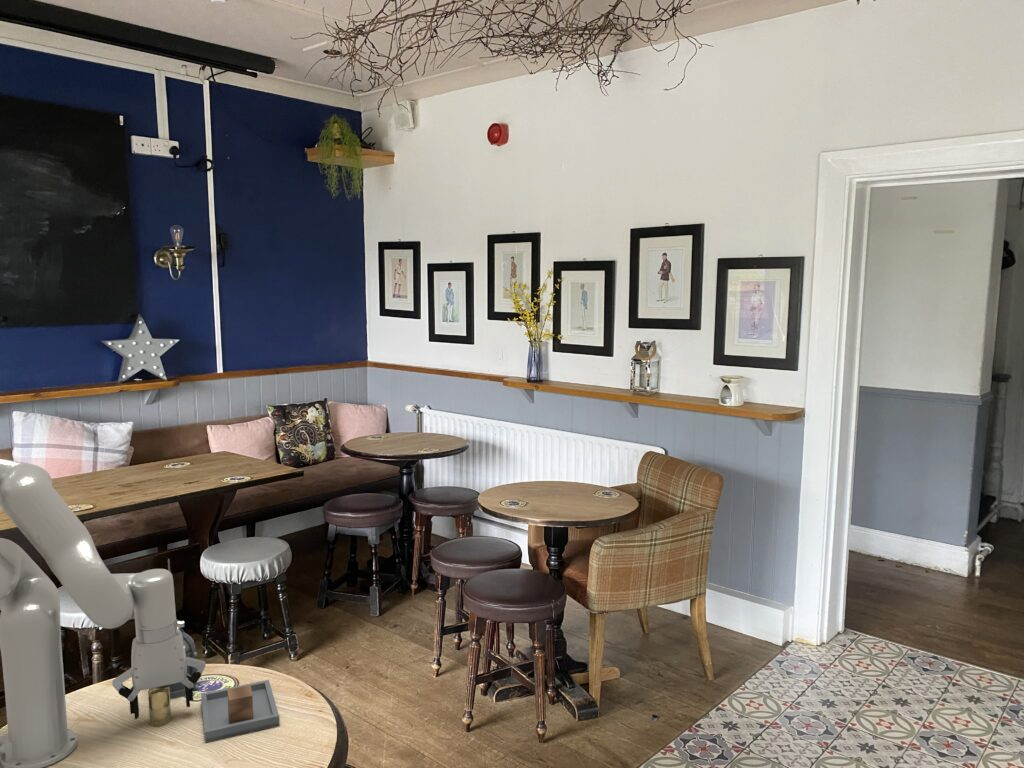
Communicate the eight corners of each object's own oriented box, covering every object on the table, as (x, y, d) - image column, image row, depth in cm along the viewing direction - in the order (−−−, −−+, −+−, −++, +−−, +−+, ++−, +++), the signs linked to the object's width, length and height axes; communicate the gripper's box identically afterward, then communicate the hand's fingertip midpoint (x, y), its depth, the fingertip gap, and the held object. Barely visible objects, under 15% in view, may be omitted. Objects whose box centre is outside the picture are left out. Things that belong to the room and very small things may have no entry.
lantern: (209, 677, 173) (204, 551, 169) (185, 702, 162) (178, 568, 159) (165, 675, 174) (159, 550, 170) (138, 699, 163) (131, 566, 160)
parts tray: (205, 742, 147) (204, 732, 147) (201, 703, 162) (200, 693, 162) (279, 726, 153) (279, 715, 153) (269, 689, 168) (268, 679, 167)
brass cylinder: (149, 728, 152) (147, 696, 151) (149, 718, 156) (148, 686, 155) (171, 724, 154) (169, 691, 153) (171, 714, 158) (169, 682, 157)
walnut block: (229, 728, 151) (228, 700, 150) (228, 717, 155) (227, 689, 154) (253, 723, 153) (252, 695, 152) (251, 712, 157) (250, 685, 156)
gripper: (201, 615, 160) (206, 691, 162) (109, 632, 153) (116, 711, 155) (203, 629, 153) (208, 708, 155) (107, 648, 146) (114, 730, 148)
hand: (162, 709), depth 155 cm, fingers open, 9 cm apart
